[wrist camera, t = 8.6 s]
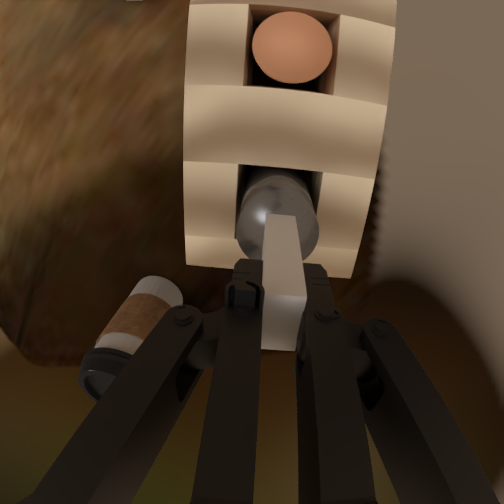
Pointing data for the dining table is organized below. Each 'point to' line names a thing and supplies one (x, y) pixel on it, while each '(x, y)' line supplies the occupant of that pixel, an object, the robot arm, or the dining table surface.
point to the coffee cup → (126, 333)
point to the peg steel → (275, 208)
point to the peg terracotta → (292, 47)
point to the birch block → (283, 123)
